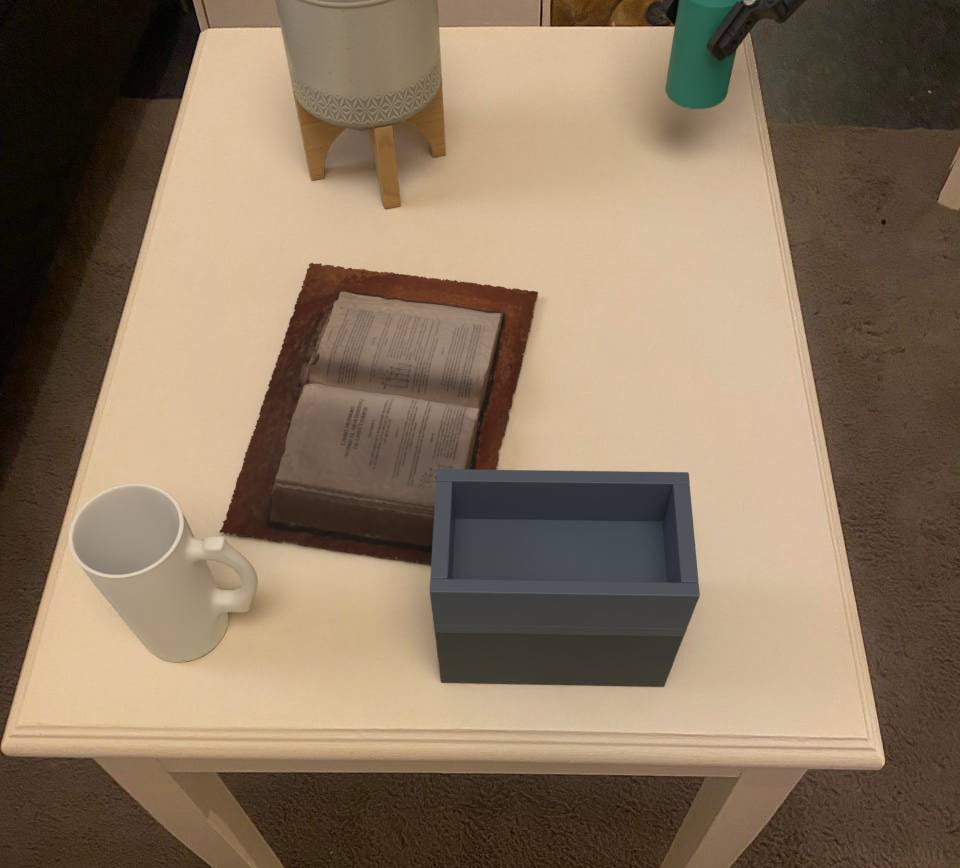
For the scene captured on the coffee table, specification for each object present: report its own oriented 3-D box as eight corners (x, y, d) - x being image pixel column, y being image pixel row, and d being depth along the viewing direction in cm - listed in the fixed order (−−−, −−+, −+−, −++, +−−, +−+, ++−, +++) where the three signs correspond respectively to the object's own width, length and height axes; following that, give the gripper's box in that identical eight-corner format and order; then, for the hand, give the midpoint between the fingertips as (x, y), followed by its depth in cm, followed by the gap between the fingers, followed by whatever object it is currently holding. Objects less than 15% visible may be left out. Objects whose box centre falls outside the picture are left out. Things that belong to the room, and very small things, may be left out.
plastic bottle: (715, 67, 84) (737, -44, 76) (735, 104, 82) (761, -7, 74) (657, 76, 84) (673, -35, 76) (676, 113, 81) (695, 3, 73)
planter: (297, 133, 91) (255, -76, 75) (427, 108, 92) (413, -101, 76) (323, 221, 85) (283, 16, 69) (461, 194, 87) (453, -13, 71)
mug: (127, 664, 65) (55, 575, 54) (147, 581, 68) (83, 481, 58) (271, 670, 65) (227, 581, 54) (285, 585, 68) (246, 486, 57)
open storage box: (657, 578, 68) (688, 471, 57) (664, 687, 64) (700, 596, 53) (446, 575, 68) (436, 468, 57) (440, 683, 64) (429, 591, 53)
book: (219, 539, 70) (206, 506, 66) (310, 267, 82) (303, 225, 78) (484, 584, 69) (487, 553, 65) (536, 303, 81) (542, 263, 77)
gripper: (764, -257, 70) (615, -29, 77) (903, -179, 64) (727, 59, 72) (799, -188, 76) (657, 17, 83) (929, -111, 70) (764, 101, 78)
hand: (690, 35), depth 78 cm, fingers closed on plastic bottle, 5 cm apart
